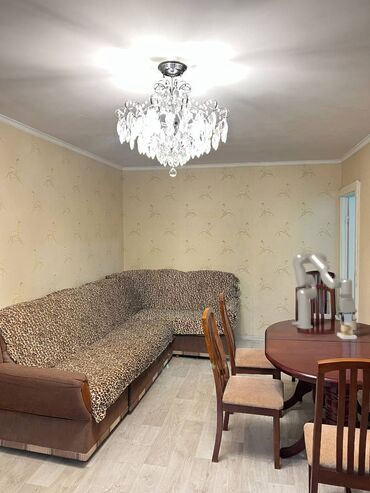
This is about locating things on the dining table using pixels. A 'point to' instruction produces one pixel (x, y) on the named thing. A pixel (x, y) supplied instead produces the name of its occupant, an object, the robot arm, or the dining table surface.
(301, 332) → the dining table surface
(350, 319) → the blue block
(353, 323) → the teacup with lid
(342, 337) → the plinth
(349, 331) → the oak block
